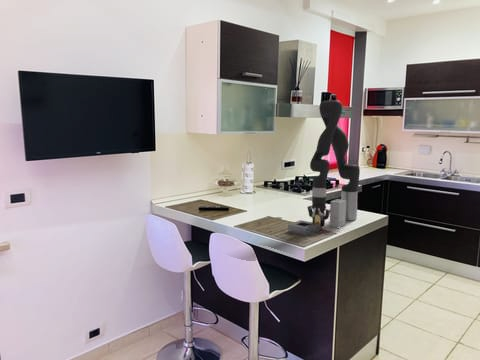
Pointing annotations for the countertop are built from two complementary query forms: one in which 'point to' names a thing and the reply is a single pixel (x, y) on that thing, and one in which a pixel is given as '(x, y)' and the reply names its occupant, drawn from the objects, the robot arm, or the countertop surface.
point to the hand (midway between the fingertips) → (318, 225)
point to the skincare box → (338, 213)
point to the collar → (303, 228)
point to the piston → (318, 220)
